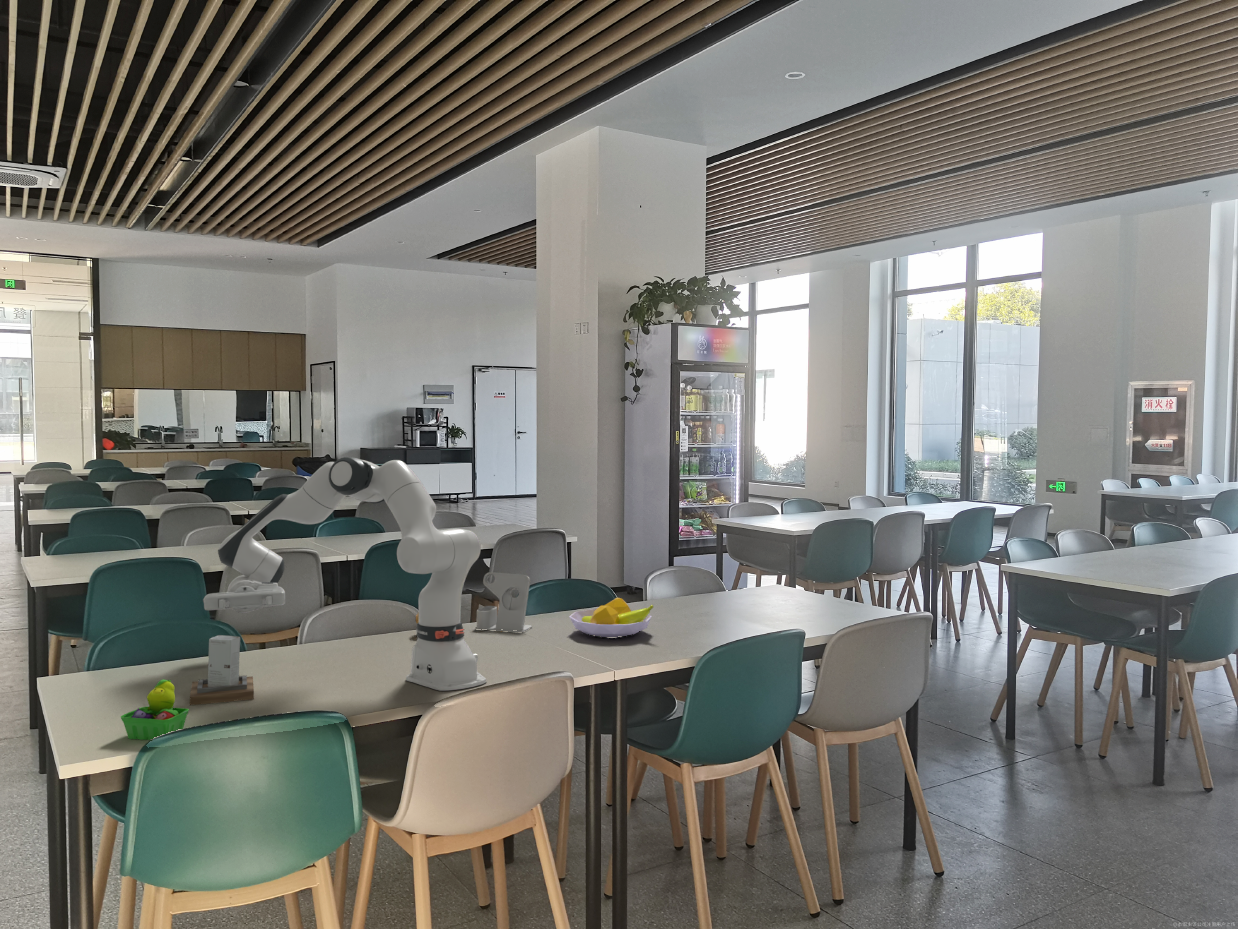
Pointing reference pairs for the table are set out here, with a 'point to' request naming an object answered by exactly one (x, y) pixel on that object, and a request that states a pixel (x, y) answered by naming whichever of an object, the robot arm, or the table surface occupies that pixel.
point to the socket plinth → (221, 692)
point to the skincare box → (223, 661)
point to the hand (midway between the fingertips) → (245, 603)
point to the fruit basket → (155, 714)
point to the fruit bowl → (612, 619)
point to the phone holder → (505, 603)
